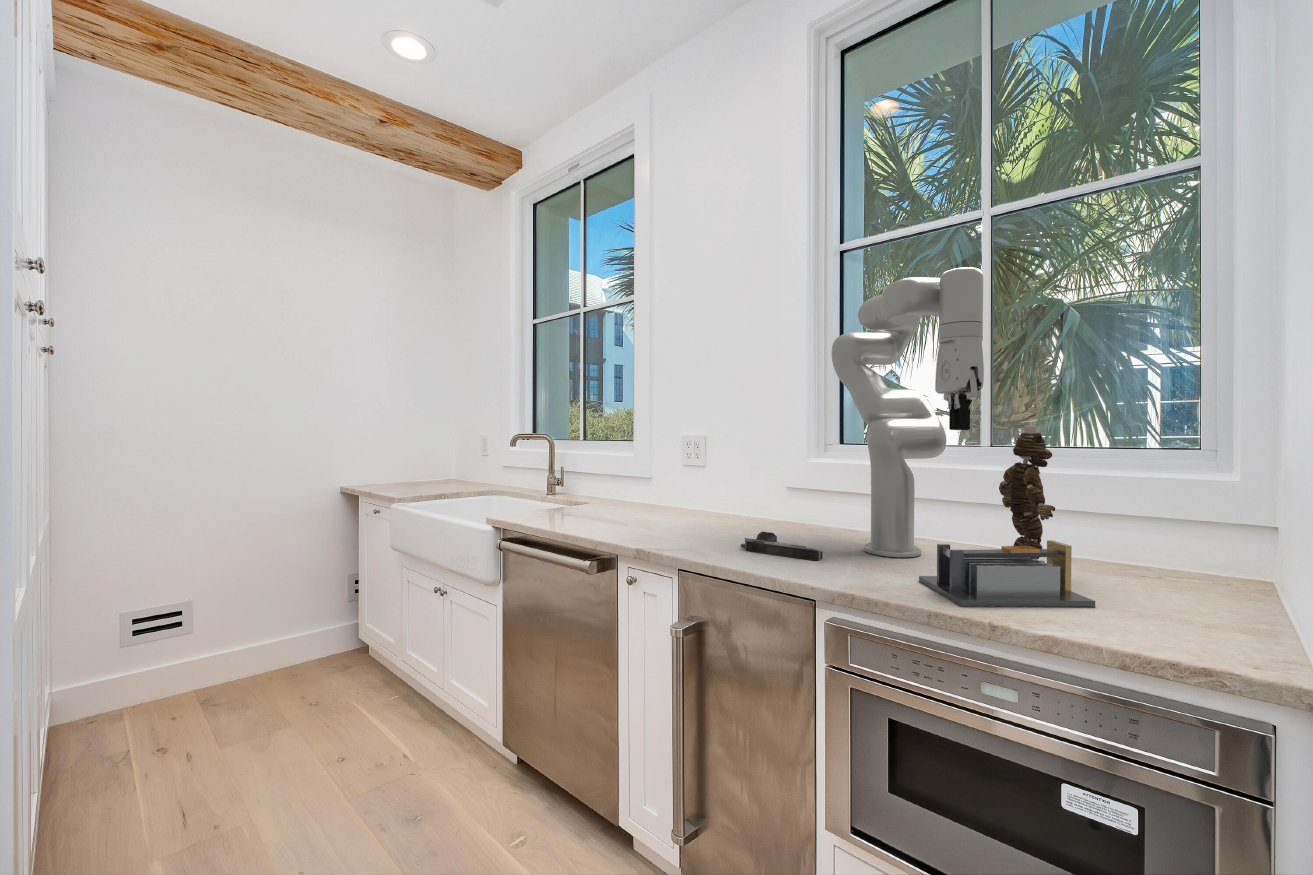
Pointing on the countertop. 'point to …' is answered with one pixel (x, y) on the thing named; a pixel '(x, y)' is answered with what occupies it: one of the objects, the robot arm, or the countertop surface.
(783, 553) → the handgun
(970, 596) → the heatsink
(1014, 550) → the dark grey lever
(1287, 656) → the countertop surface
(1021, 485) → the toy
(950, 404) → the robot arm
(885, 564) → the countertop surface
